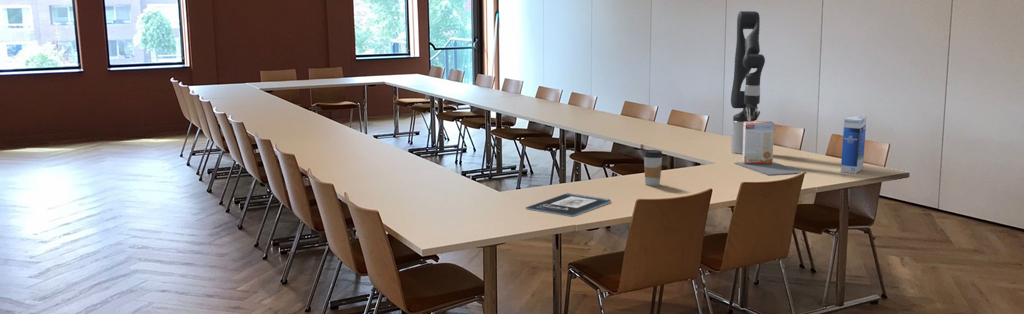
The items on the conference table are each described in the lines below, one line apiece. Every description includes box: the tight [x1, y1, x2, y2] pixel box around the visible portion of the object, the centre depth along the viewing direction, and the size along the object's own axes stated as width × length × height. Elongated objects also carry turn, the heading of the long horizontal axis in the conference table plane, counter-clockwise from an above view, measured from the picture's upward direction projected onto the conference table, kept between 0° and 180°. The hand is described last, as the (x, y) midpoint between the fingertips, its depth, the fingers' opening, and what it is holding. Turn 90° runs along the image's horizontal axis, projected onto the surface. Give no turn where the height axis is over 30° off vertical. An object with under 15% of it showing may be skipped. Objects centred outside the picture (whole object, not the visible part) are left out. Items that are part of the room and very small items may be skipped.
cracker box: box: [741, 120, 775, 164], centre depth 432 cm, size 14×6×21 cm, turn 86°
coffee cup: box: [643, 149, 664, 187], centre depth 384 cm, size 8×8×15 cm
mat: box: [734, 161, 807, 176], centre depth 423 cm, size 32×20×1 cm, turn 15°
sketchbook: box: [525, 192, 612, 217], centre depth 345 cm, size 22×30×2 cm
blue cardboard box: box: [840, 115, 867, 174], centre depth 415 cm, size 13×8×26 cm, turn 145°
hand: (750, 128), depth 438 cm, fingers closed
